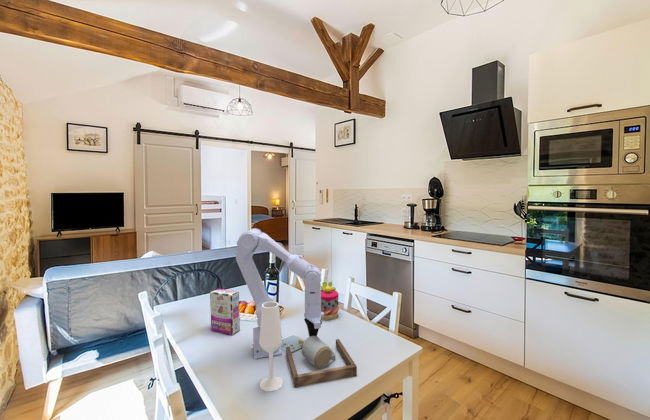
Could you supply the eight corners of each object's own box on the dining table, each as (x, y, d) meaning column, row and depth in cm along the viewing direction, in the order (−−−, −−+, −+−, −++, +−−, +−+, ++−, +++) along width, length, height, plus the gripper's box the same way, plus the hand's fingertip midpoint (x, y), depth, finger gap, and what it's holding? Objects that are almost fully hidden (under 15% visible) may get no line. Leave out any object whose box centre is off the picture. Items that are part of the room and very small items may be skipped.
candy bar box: (240, 330, 118) (239, 291, 117) (232, 336, 113) (231, 295, 112) (219, 325, 122) (218, 287, 121) (210, 331, 117) (209, 291, 116)
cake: (342, 318, 129) (342, 285, 128) (320, 322, 125) (320, 288, 124) (332, 309, 138) (332, 279, 137) (312, 313, 134) (312, 281, 133)
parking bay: (294, 387, 83) (294, 377, 83) (286, 355, 100) (286, 346, 100) (356, 375, 89) (356, 366, 89) (338, 346, 105) (338, 339, 105)
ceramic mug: (315, 373, 90) (315, 349, 90) (301, 360, 97) (301, 338, 96) (340, 361, 97) (341, 339, 96) (325, 350, 103) (326, 330, 103)
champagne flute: (283, 375, 89) (282, 299, 87) (282, 390, 82) (281, 308, 81) (261, 377, 88) (259, 300, 87) (258, 392, 82) (257, 309, 80)
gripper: (329, 308, 96) (329, 348, 96) (318, 293, 110) (318, 328, 110) (308, 310, 94) (308, 351, 95) (300, 295, 108) (300, 330, 109)
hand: (312, 339), depth 102 cm, fingers closed
